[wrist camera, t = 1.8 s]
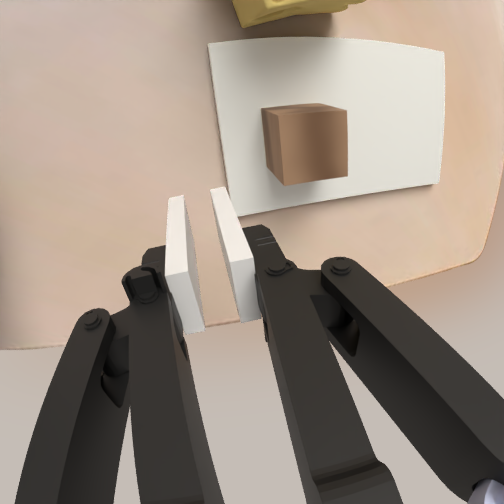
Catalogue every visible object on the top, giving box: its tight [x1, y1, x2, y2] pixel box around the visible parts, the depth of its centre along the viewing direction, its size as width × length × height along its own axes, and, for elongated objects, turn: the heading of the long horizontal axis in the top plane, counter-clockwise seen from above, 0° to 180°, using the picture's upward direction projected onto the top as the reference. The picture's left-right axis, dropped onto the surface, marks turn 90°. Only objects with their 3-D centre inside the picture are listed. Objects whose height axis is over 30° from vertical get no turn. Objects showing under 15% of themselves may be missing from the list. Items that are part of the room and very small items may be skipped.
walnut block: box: [260, 103, 348, 186], centre depth 27 cm, size 6×6×6 cm
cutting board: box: [207, 37, 445, 217], centre depth 30 cm, size 28×18×1 cm, turn 97°
